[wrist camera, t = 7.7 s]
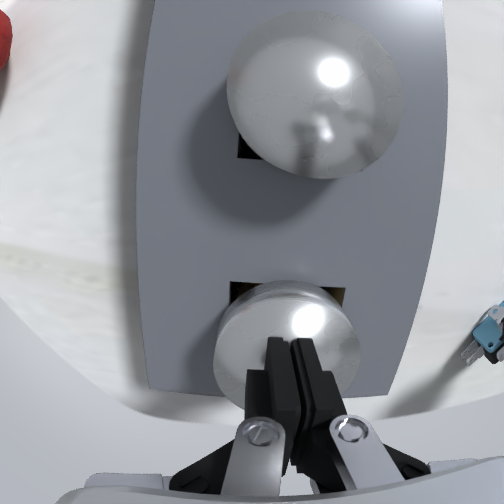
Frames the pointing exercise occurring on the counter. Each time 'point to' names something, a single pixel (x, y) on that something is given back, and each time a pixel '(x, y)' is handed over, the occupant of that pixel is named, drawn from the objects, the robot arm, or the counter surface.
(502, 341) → the push button
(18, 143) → the counter surface
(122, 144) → the counter surface
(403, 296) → the knob panel
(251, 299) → the knob
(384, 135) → the knob middle
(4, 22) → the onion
